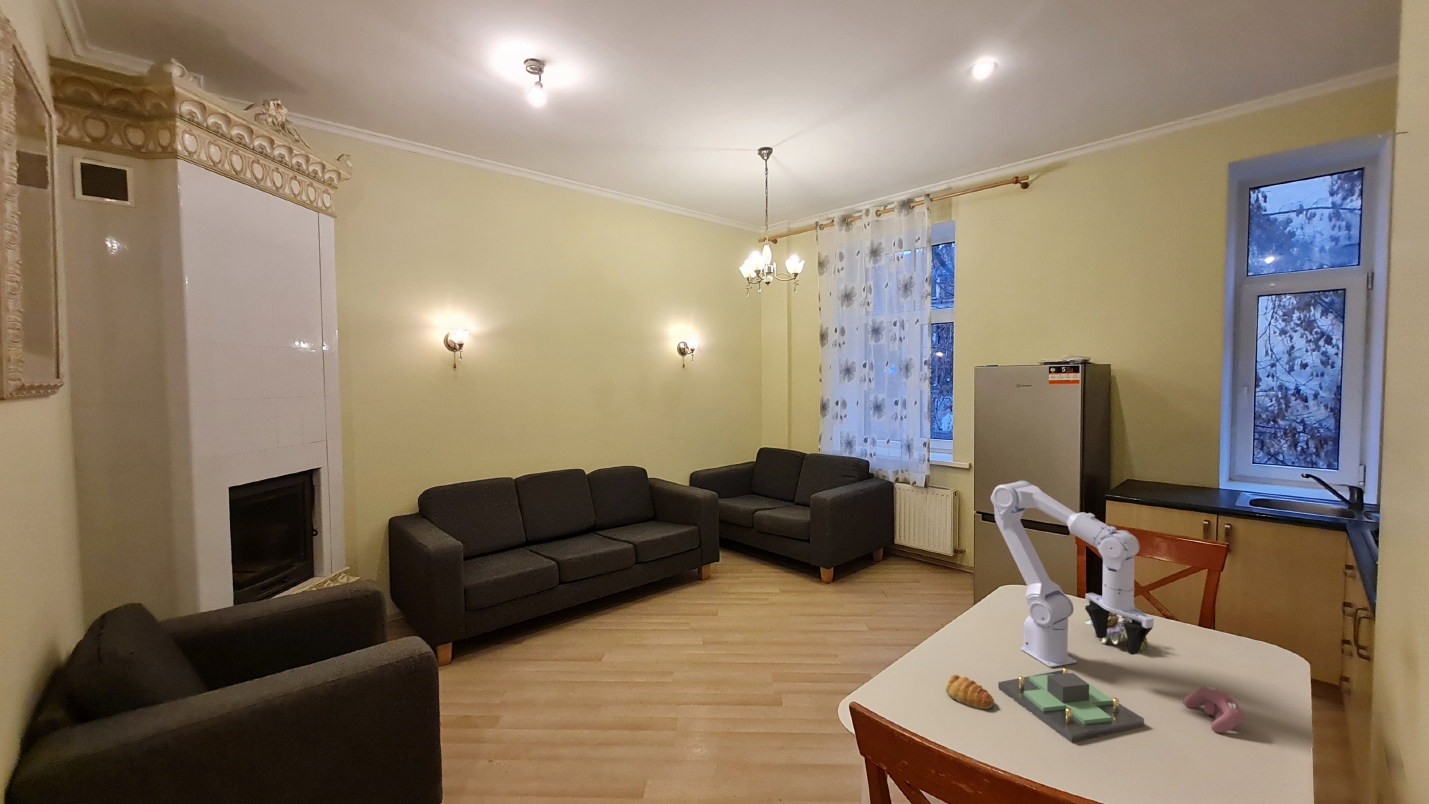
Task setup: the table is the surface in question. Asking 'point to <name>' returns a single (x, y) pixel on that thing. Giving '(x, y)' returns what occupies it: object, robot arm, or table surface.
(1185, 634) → the table surface
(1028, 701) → the chassis
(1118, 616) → the passion flower
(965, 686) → the pastry
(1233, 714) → the video game controller
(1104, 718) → the board
